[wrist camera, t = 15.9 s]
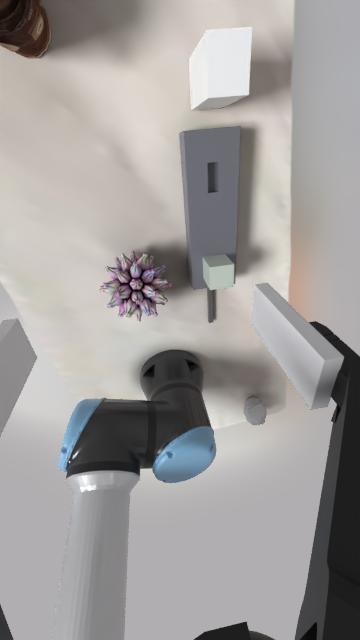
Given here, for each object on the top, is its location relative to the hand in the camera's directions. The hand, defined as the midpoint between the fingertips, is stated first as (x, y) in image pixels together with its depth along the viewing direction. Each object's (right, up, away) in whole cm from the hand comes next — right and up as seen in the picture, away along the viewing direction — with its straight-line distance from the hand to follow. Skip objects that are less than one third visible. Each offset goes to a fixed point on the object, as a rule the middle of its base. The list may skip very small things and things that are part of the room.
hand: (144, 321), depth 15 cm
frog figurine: (+22, -23, +60) cm, 67 cm away
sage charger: (+8, +10, +32) cm, 34 cm away
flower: (-6, +9, +35) cm, 37 cm away
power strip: (+7, +14, +34) cm, 37 cm away
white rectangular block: (+5, +33, +22) cm, 40 cm away
